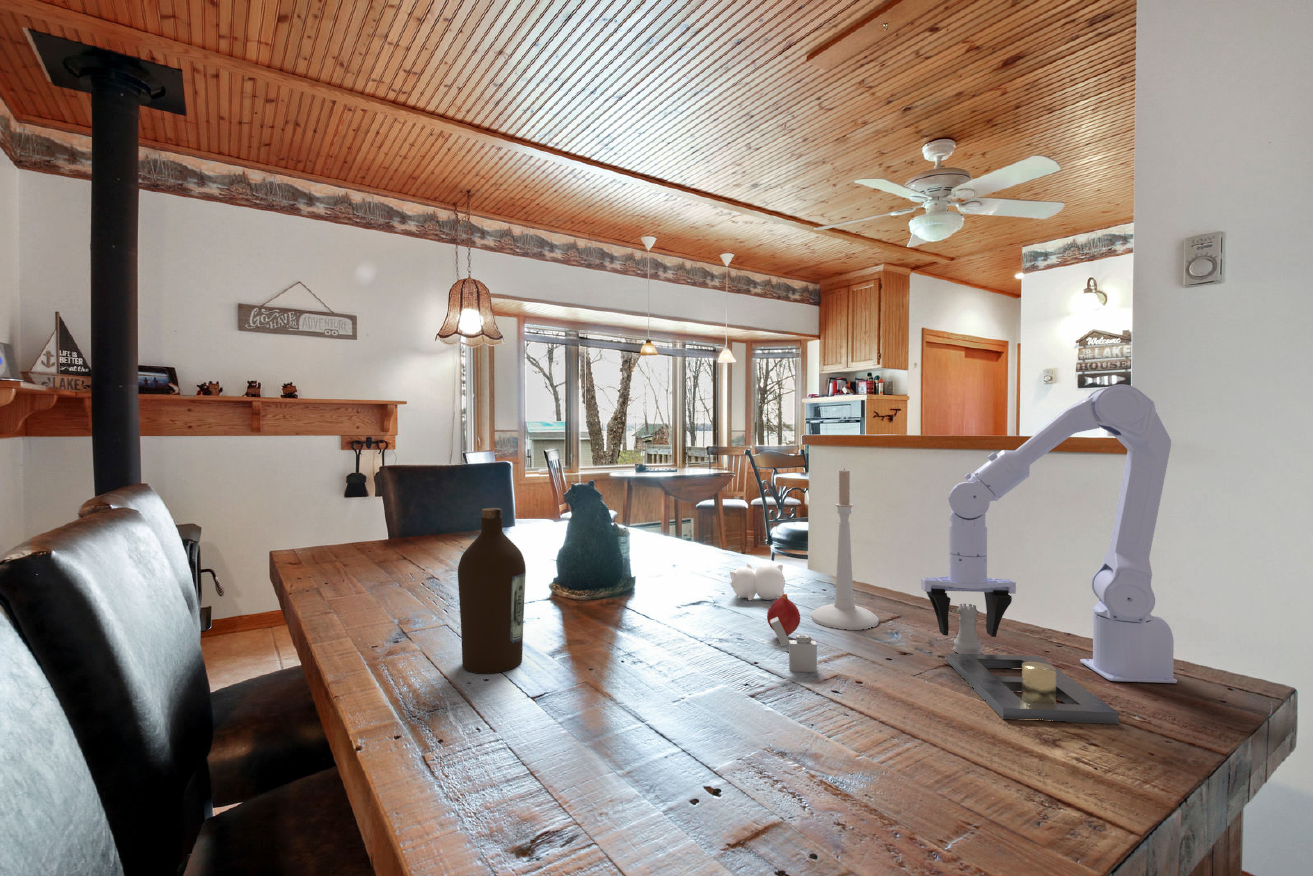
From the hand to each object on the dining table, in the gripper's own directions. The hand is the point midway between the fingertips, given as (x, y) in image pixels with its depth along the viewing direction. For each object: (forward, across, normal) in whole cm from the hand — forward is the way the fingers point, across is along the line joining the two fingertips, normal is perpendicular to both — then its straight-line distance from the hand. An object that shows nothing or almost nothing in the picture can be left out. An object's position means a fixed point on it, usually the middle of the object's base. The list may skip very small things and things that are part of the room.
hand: (967, 634), depth 105 cm
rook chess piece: (+3, 0, 0) cm, 3 cm away
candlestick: (+3, +17, -17) cm, 24 cm away
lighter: (+3, +30, +10) cm, 32 cm away
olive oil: (+3, +78, +12) cm, 79 cm away
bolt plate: (+3, -2, +15) cm, 15 cm away
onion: (+3, +30, -5) cm, 31 cm away
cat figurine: (+3, +33, -32) cm, 46 cm away
